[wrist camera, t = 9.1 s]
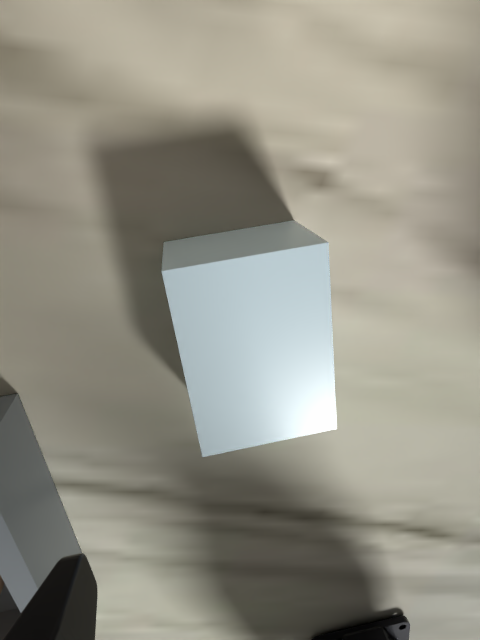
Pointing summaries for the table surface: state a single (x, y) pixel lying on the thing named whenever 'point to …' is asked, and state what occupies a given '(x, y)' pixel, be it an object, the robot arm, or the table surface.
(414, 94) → the table surface
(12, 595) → the charcoal tote
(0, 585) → the walnut block
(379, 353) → the table surface
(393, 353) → the table surface
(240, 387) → the pale blue carton
